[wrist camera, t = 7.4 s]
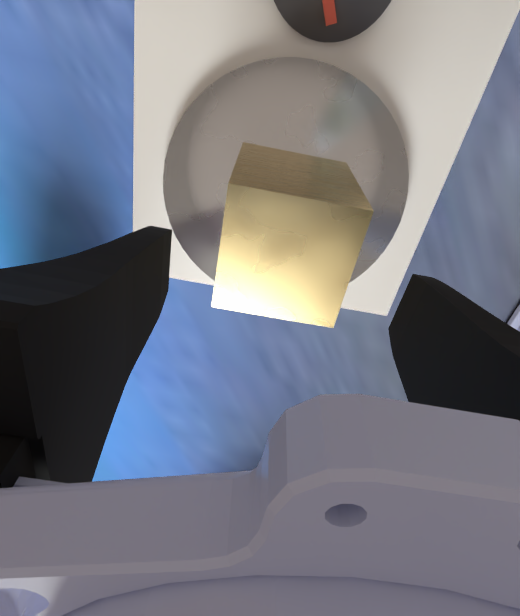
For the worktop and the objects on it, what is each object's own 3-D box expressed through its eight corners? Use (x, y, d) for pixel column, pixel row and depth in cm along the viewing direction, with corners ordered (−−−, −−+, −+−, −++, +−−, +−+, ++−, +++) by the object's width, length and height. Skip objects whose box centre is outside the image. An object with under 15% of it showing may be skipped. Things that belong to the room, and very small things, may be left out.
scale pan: (446, 88, 16) (452, 89, 16) (360, 311, 22) (362, 317, 22) (173, 29, 15) (169, 28, 15) (160, 276, 21) (157, 282, 21)
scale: (537, -92, 15) (580, -115, 13) (379, 296, 24) (388, 321, 22) (153, -189, 14) (131, -231, 12) (143, 254, 23) (129, 275, 21)
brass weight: (346, 162, 17) (374, 211, 12) (319, 255, 20) (333, 327, 15) (243, 142, 17) (228, 183, 12) (228, 239, 19) (211, 306, 14)
